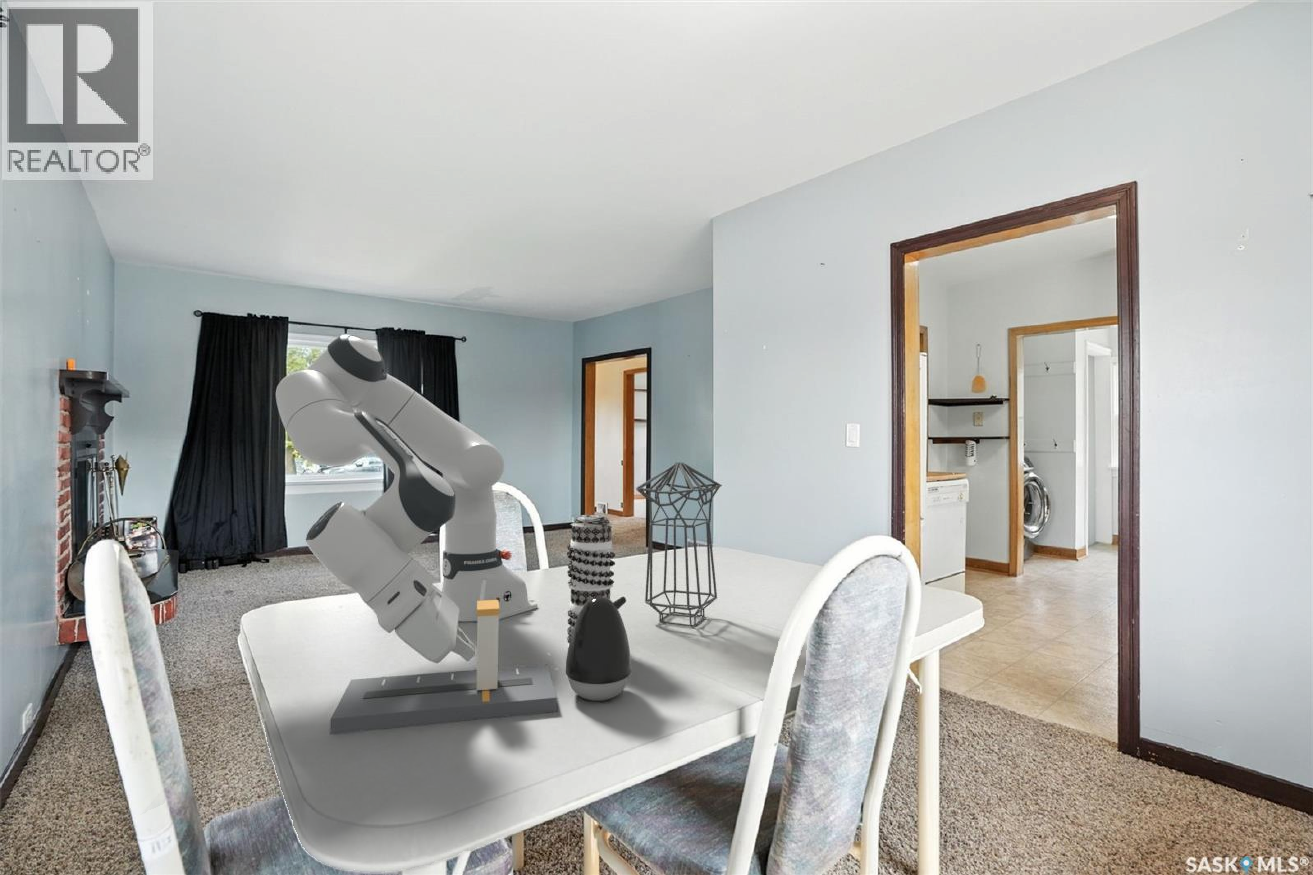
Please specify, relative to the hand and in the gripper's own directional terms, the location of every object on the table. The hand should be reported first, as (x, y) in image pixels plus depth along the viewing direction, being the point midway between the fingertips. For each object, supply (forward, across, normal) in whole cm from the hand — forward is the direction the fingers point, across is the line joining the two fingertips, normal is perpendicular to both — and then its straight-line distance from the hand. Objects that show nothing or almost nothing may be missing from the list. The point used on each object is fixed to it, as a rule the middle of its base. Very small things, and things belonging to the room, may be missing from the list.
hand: (472, 654), depth 96 cm
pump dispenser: (+18, +2, +8) cm, 20 cm away
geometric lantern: (+36, -34, +26) cm, 55 cm away
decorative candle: (+20, -20, +10) cm, 30 cm away
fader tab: (+5, 0, -2) cm, 5 cm away
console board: (+3, 0, -7) cm, 8 cm away
